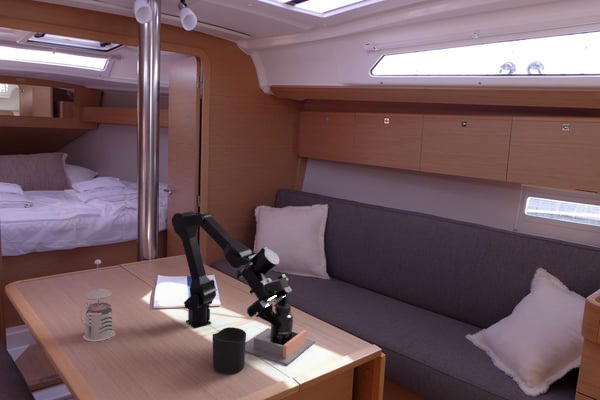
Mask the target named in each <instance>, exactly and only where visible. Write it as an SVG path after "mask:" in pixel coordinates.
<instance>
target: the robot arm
mask: <svg viewBox="0 0 600 400" xmlns="http://www.w3.org/2000/svg"><path fill="white" fill-rule="evenodd" d="M171 225H172V227H173V230H174V232H175V233H176V235H177V236H178V237H179V238H180V239H181V242H182V246H183V250H184V254H185V257H186V262H187V266H188V269H189V275H190V278H191V283H190V285H189V294H190V295H189V297H188V298H187V299H186V300H185V301H183V304H184V308H185V309H186V310H188V315H187V316H188V317H187V319H186V320H185V323H187V325H189V326H191V327H192V328H195V329H196V328H199V327H204V326H207V325H211V324H212V322H211V321H210V320H211V309H210V305H211V304H212V303H213V301H214V299H215V298H216V296H217V288H216V284H215V280H214V279H212V278H211V279H210V278H209V277H208V276H207V274H206V269H205V266H204V261H203V257H202V254H201V249H200V247H199V242H198V238H197V232H198V229H199V226H200V228H201V229H203V231H204V232H205V233H206V234H207V235H208V236H209V237H210V239H212V240H213V242H215V244H217V246H218V247H219V248H220V249H221V250H222V252H223V256H224V258H225V259H226V261H227V263H228V264H229V265H230V267H231V268H233V269H238V270H236V271H237V273H236V279H237V280H239V279H241V278H243V280H244V281H245V282H246V284H247V285H248V287H249V288H250V290H249V293H250V294H251V295H252V294H254V295H255V297H256V298H257V300H255V301H254V302H253V303H252V304H251V305H250V306H248V307H247V308H246V313H247V315H248V316H249V318H250V319H251V318H252V317H254V316H255V317H256V318H260V319H262V320H264V321H265V322H267V323H269V324H270V325H271V324H273V325H274V326H276V327H278V328H280V327H281V324H280V322H279V320H278V319H277V317H276V315H275V314H274V313H275V311H274V310H273V309H274V308H273V307H275V306H276V304H278V303H286V304H289V297H290V295H291V293H292V291H293V289H292V288H291V287H290V285H289V283H290V279H289V278H288V276H286V274H285V273H281V274H279V275H277V279H275V280H272V279H271V278H270V277H267V278H266V276H265V275H266V274H268V273H270V272H271V271H272V270H273V269H274V268H275V267H276V266H277V265H278V264H279V263H280V257H279V255H278V254H277V253H276V252H274V250H272V249H269V248H268V247H267V246H264V247H262V248H261V249H259V251H258V252H256V251H252V250H251V249H250V248H249V247H248V246H246V244H243V242H240V241H237V240H236V239H234V238H233V237H232V236H231V235H230V233H228V231H226V229H224V228H223V226H222V225H220V223H219V222H217V220H216V219H214V217H213V215H212V214H211V213H210V212H194V211H193V210H187V211H181V212H175V213H174V214H173V216H172V218H171ZM251 263H252V264H251ZM243 266H245V267H243ZM240 267H243V268H240ZM273 302H274V304H273ZM290 313H291V314H292V311H291V312H290Z"/></svg>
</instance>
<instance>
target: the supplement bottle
mask: <svg viewBox="0 0 600 400" xmlns="http://www.w3.org/2000/svg"><path fill="white" fill-rule="evenodd" d="M275 304H276V303H275ZM291 308H292V306H291V305H290V304H289V303H288V304H286V303H278V304H276V306H274V314H275V315H276V317H277V319H278V320H279V322H280V324H281V327H280V328H278V327H276V326H274V325H273V324H271V323H270V329H271V333H270V342H273V343H276V344H280V345H284V344H286V343H287V342H288V341H290V340H291V339H292V331H294V330H293V329H294V315H293V314H292V309H291ZM290 312H291V313H290Z"/></svg>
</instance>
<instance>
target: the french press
mask: <svg viewBox="0 0 600 400" xmlns="http://www.w3.org/2000/svg"><path fill="white" fill-rule="evenodd" d="M101 263H102V261H101V259H95V260H94V265H97V268H96V269H97V270H99V265H100V264H101ZM112 295H113V292H112V291H111V290H109V289H105V288H100V287H99V282H97V288H94V289H91V290H89V291H88V292H86V293H84V295H83V297H85V299H87V300H88V301H89V300H90V301H97V302H95V303H92V302H91V303H88V302H85V303H84V304H83V305H82V308H81V310H80V315H82V312H83V309H84V307H85V306H86V309H85V312H84V321H85V323H84V321H83V317H82V316H80V322H81V323H82V325H84V326H85V333H84V334H85V335H84V334H83V335H84V336H85V338H87V339H89V340H103V339H107V338H110V337H112V336H113V335H114V332H115V330H113V308H111V306H112V305H111V304H110V303H108V302H102V301H101V302H100V300H104V299H107V298H110V297H111V296H112ZM95 314H98V315H95Z"/></svg>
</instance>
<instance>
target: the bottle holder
mask: <svg viewBox="0 0 600 400" xmlns="http://www.w3.org/2000/svg"><path fill="white" fill-rule="evenodd" d="M270 333H271V327H268V328H266V329H264V330H262V331H260V333H258V334H256V335H255V336H253V337H252V338H250V339H249V340H246V345H245V354H248V355H251V356H254V357H258V358H261V359H264V360H268V361H271V362H274V363H277V364H280V365H283V366H287V367H288V366H289V365H290V364H291V363H293V362H294V361H295V360H297V358H299V357H300V356H301V355H303V354H304V353H305V352H307V351H308V349H310V348H311V347H312V346H313V345H314V344H316V340H313V339H310V338H307V333H308V331H307V330H306V329H303V330H302V331H300V332H299V331H295V330H292V339H291V340H290V341H288V342H287V343H286V344H284V345H280V344H276V343H273V342H270Z"/></svg>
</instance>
